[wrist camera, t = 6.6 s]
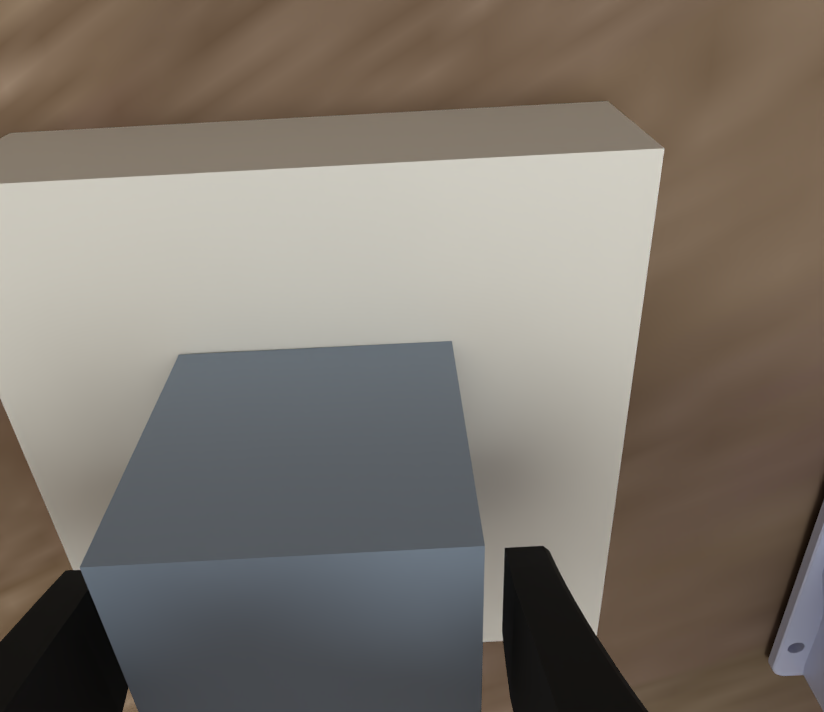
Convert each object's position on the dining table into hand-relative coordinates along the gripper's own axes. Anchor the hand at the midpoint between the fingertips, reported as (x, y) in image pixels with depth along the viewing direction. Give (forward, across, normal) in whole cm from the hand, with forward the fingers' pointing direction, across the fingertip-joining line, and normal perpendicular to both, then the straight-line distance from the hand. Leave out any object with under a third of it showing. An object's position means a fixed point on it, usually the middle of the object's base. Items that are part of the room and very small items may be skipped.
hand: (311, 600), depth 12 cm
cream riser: (+8, 0, 0) cm, 8 cm away
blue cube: (+3, 0, 0) cm, 4 cm away
